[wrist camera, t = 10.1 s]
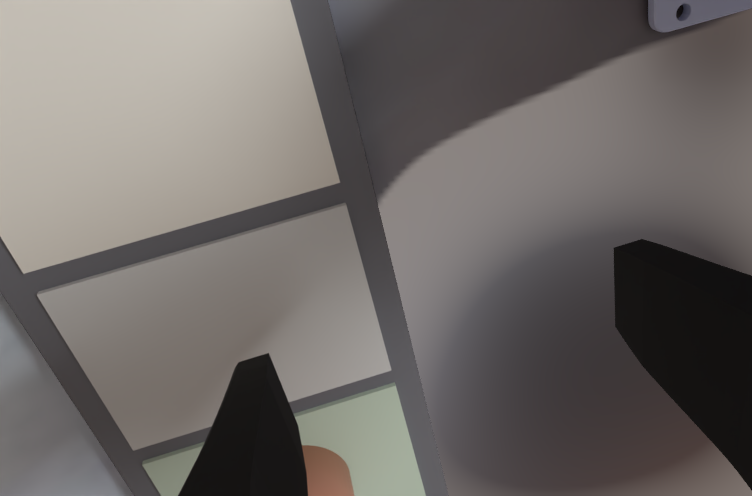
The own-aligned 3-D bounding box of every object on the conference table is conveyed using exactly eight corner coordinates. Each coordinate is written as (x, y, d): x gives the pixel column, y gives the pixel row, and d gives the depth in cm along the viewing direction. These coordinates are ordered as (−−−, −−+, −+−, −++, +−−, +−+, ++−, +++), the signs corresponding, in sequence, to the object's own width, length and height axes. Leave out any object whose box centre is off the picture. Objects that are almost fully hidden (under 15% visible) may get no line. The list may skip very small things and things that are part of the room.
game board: (174, -609, 12) (167, -660, 11) (442, 479, 28) (450, 501, 27) (-469, -482, 11) (-544, -525, 10) (192, 561, 28) (190, 586, 26)
